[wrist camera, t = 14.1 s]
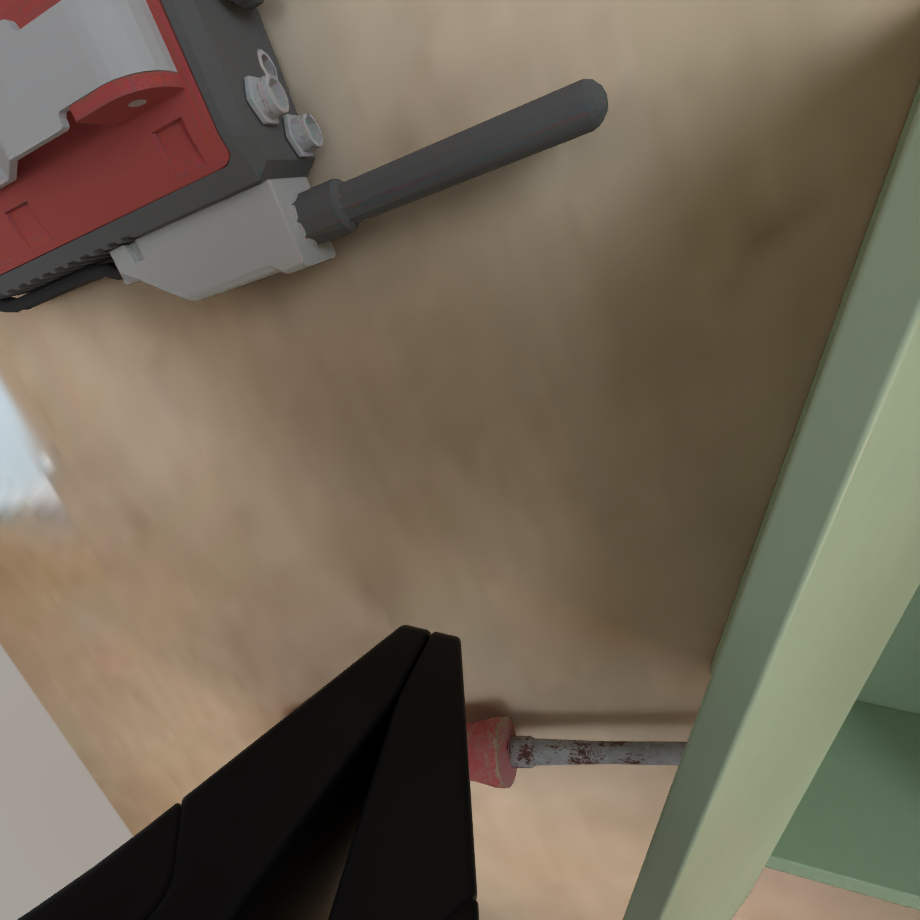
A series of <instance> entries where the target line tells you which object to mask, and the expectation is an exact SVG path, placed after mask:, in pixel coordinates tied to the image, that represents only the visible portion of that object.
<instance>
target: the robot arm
mask: <svg viewBox="0 0 920 920" xmlns="http://www.w3.org/2000/svg"><path fill="white" fill-rule="evenodd" d="M476 898H477V884H476V869H475V853H474V838H473V822H472V807H471V791H470V776H469V760H468V745H467V729H466V714H465V698H464V683H463V667H462V652H461V641H460V639H459V638H458V637H456V636H452V635H448V634H443V633H439V632H434V633H432V634H431V633H430V632H429V631H428V630H426V629H422V628H418V627H413V626H409V625H403V626H401V627H399V628H398V629H396V630H395V631H394V632H393V633H391V634H390V635H389V636H387V637H386V638H385V639H384V640H382V641H381V642H380V643H379V644H377V645H376V646H375V647H374V648H372V649H371V650H370V651H368V652H367V653H366V654H365V655H363V656H362V657H361V658H360V659H358V660H357V661H356V662H355V663H353V664H352V665H351V666H350V667H348V668H347V669H346V670H344V671H343V672H342V673H341V674H339V675H338V676H337V677H336V678H334V679H333V680H332V681H331V682H329V683H328V684H327V685H326V686H324V687H323V688H322V689H320V690H319V691H318V692H317V693H315V694H314V695H313V696H312V697H310V698H309V699H308V700H307V701H305V702H304V703H303V704H301V705H300V706H299V707H298V708H296V709H295V710H294V711H293V712H291V713H290V714H289V715H288V716H286V717H285V718H284V719H283V720H281V721H280V722H279V723H277V724H276V725H275V726H274V727H272V728H271V729H270V730H269V731H267V732H266V733H265V734H264V735H262V736H261V737H260V738H259V739H257V740H256V741H255V742H253V743H252V744H251V745H250V746H248V747H247V748H246V749H245V750H243V751H242V752H241V753H240V754H238V755H237V756H236V757H234V758H233V759H232V760H231V761H229V762H228V763H227V764H226V765H224V766H223V767H222V768H221V769H219V770H218V771H217V772H216V773H214V774H213V775H212V776H210V777H209V778H208V779H207V780H205V781H204V782H203V783H202V784H200V785H199V786H198V787H197V788H195V789H194V790H193V791H192V792H190V793H189V794H188V795H186V796H185V797H184V798H183V800H182V805H181V804H179V803H176V804H175V805H173V806H172V807H171V808H170V809H168V810H167V811H166V812H165V813H163V814H162V815H161V816H159V817H158V818H157V819H156V820H154V821H153V822H152V823H151V824H149V825H148V826H147V827H146V828H144V829H143V830H142V831H140V832H139V833H138V834H136V835H135V836H134V837H132V838H131V839H130V840H129V841H127V842H126V843H124V844H123V845H122V846H121V847H119V848H118V849H117V850H115V851H114V852H113V853H111V854H110V855H109V856H107V857H106V858H105V859H103V860H102V861H101V862H99V863H98V864H97V865H95V866H94V867H93V868H91V869H90V870H88V871H87V872H86V873H84V874H83V875H81V876H80V877H78V878H77V879H75V880H74V881H73V882H71V883H70V884H68V885H67V886H65V887H64V888H63V889H61V890H60V891H58V892H57V893H55V894H54V895H53V896H51V897H50V898H48V899H47V900H45V901H44V902H43V903H41V904H40V905H38V906H37V907H35V908H34V909H32V910H31V911H30V912H28V913H27V914H25V915H24V916H22V917H21V918H19V919H18V920H479V909H478V902H477V901H476Z"/></svg>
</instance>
